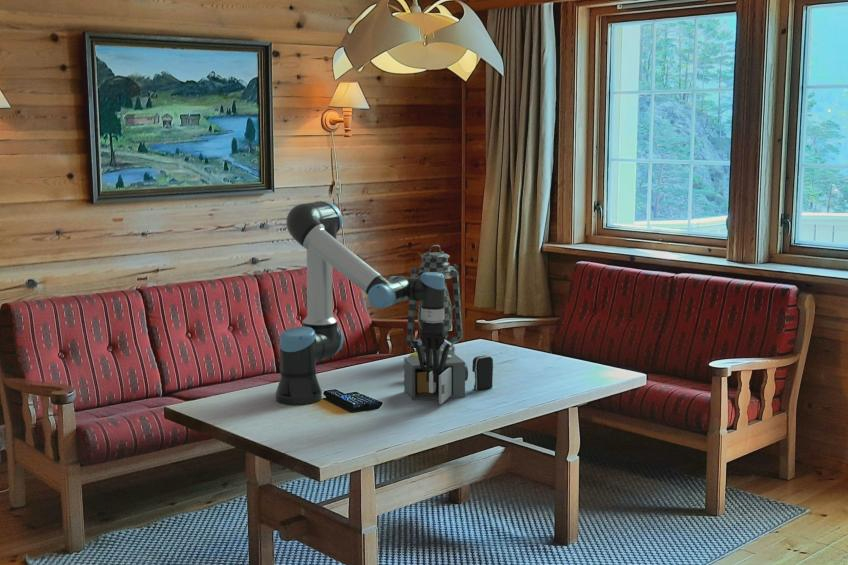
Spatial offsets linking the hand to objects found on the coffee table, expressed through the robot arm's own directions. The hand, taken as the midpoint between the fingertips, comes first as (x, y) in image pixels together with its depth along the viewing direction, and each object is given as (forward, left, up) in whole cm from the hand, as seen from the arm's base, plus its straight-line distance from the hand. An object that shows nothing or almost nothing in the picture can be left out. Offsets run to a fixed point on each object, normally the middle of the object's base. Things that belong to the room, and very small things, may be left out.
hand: (432, 391), depth 331 cm
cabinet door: (+5, +1, -3) cm, 6 cm away
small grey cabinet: (+5, +12, -5) cm, 14 cm away
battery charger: (+22, +15, -5) cm, 27 cm away
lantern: (+17, +57, -5) cm, 60 cm away
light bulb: (+3, +32, -5) cm, 33 cm away
